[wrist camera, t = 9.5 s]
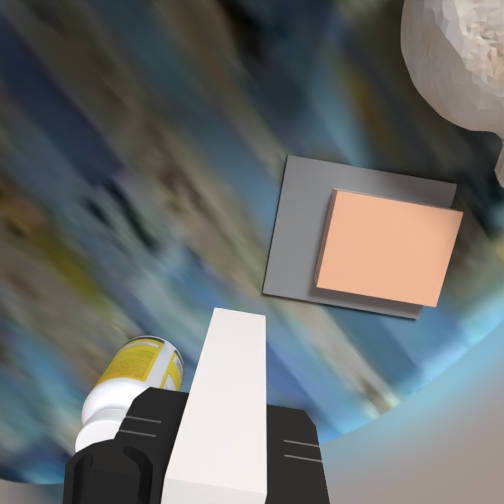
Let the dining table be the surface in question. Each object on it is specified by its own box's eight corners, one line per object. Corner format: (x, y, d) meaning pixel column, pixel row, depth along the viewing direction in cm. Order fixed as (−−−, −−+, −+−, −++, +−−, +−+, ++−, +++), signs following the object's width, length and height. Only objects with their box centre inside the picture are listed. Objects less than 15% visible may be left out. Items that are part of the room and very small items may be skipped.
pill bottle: (103, 351, 40) (41, 433, 29) (162, 320, 39) (121, 392, 28) (141, 406, 41) (95, 504, 30) (198, 377, 40) (174, 467, 29)
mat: (262, 291, 38) (262, 293, 38) (287, 154, 35) (288, 155, 35) (417, 317, 38) (418, 319, 38) (454, 183, 35) (457, 184, 35)
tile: (316, 287, 35) (435, 307, 35) (337, 190, 33) (463, 212, 33) (313, 279, 37) (426, 298, 37) (333, 188, 35) (452, 208, 35)
